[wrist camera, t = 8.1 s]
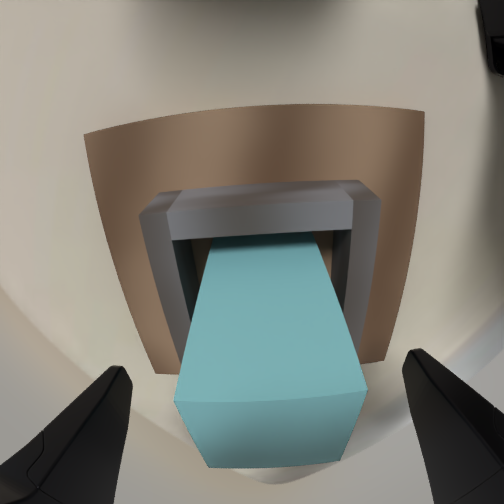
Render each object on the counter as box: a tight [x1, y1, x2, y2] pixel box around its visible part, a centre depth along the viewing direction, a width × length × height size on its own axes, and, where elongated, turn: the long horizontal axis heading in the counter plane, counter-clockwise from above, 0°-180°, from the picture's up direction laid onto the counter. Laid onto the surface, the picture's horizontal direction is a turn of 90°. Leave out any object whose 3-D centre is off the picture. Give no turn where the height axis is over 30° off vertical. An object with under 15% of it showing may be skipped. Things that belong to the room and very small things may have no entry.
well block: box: [84, 104, 425, 374], centre depth 13 cm, size 14×14×4 cm
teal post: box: [174, 231, 368, 468], centre depth 10 cm, size 4×4×8 cm
